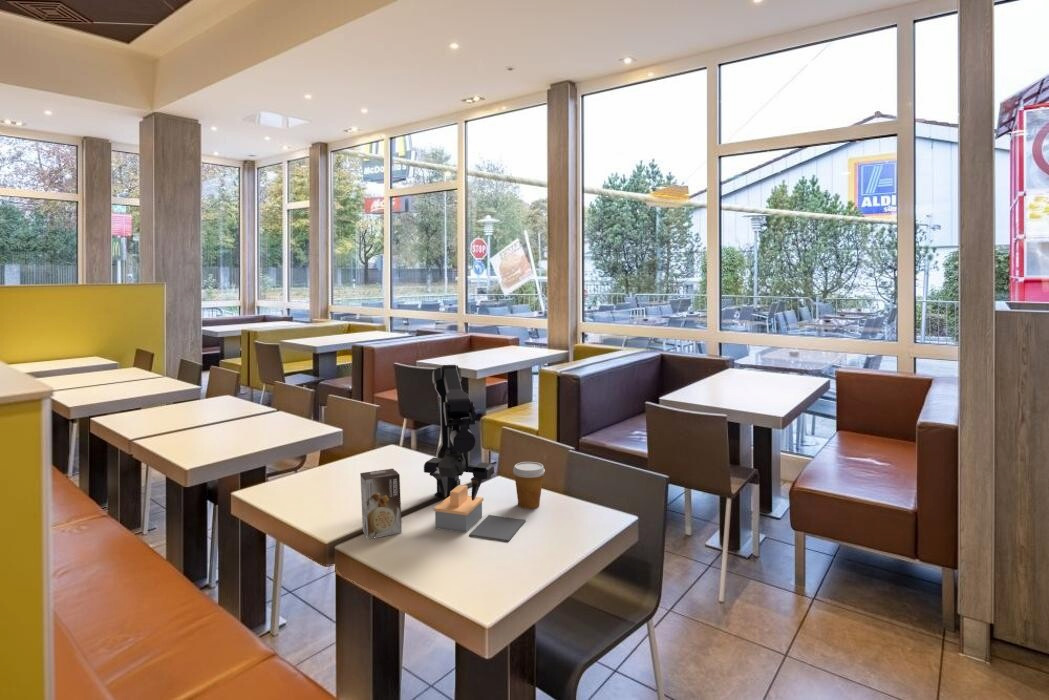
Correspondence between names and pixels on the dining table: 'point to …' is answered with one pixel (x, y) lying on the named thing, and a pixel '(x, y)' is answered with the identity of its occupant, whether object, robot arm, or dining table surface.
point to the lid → (458, 502)
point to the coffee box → (381, 503)
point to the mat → (498, 528)
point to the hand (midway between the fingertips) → (459, 498)
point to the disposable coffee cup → (528, 483)
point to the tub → (458, 520)
